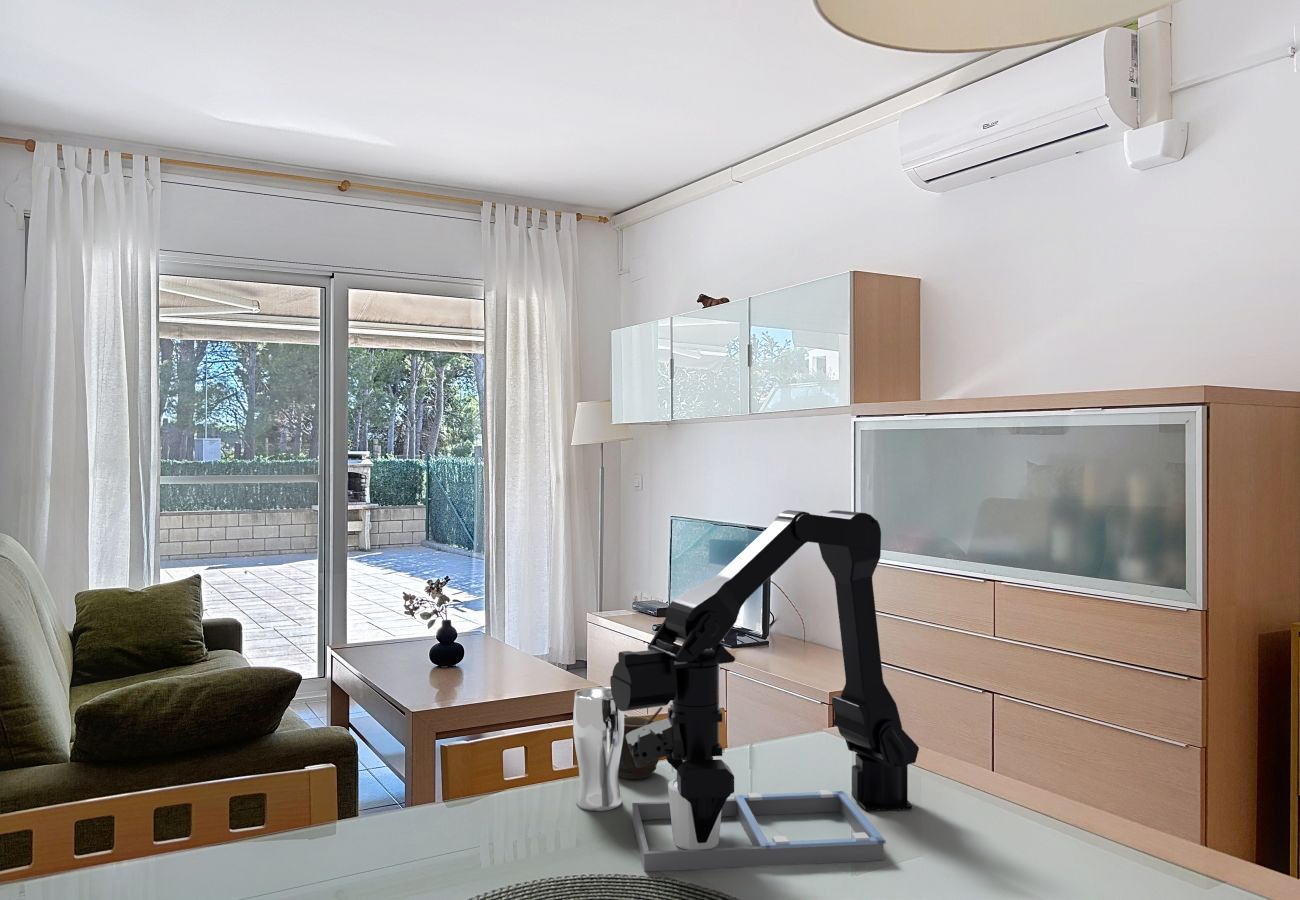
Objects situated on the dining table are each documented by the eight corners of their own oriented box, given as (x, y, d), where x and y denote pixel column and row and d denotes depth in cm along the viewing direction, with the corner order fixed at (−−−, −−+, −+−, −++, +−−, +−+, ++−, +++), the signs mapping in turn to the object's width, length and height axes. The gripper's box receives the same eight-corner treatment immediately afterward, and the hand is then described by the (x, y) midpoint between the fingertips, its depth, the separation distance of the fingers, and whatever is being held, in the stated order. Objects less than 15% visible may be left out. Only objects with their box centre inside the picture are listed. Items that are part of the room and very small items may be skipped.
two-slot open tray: (843, 809, 130) (843, 788, 130) (885, 860, 114) (885, 837, 114) (632, 817, 128) (632, 797, 128) (644, 872, 111) (644, 848, 111)
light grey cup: (730, 834, 122) (730, 777, 122) (715, 855, 116) (715, 796, 116) (677, 827, 125) (677, 772, 124) (660, 848, 118) (660, 790, 118)
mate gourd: (605, 769, 147) (606, 702, 147) (654, 765, 149) (655, 699, 149) (615, 784, 140) (616, 714, 140) (666, 781, 142) (667, 711, 142)
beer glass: (627, 794, 136) (627, 686, 136) (621, 813, 129) (621, 699, 129) (578, 793, 137) (577, 685, 137) (569, 811, 130) (568, 698, 130)
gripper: (624, 684, 129) (624, 803, 129) (637, 724, 110) (637, 863, 110) (708, 682, 130) (708, 800, 130) (735, 721, 111) (735, 858, 111)
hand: (696, 828), depth 120 cm, fingers open, 8 cm apart
